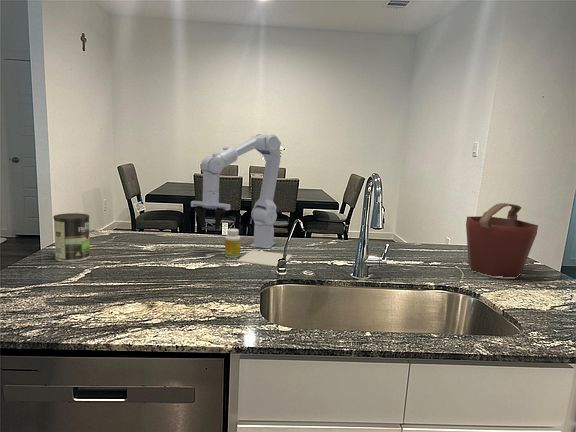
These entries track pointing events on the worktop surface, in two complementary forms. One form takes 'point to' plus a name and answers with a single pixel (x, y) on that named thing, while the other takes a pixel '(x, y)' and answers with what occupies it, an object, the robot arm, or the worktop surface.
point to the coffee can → (71, 237)
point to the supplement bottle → (232, 243)
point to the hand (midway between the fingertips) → (209, 228)
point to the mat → (262, 258)
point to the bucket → (499, 242)
